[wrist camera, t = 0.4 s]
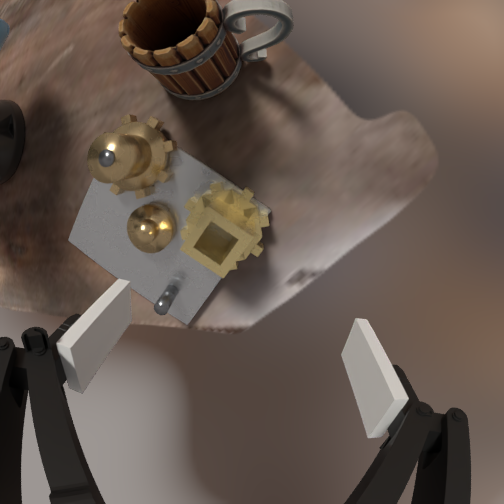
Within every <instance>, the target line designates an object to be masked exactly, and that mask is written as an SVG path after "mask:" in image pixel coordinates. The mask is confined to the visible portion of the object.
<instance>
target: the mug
mask: <svg viewBox="0 0 504 504" xmlns="http://www.w3.org/2000/svg"><path fill="white" fill-rule="evenodd" d="M260 14H261V15H269V16H272V17H275V18H276V19H278V20H279V21H278V22H277V24H276V25H275V26H274V27H273V28H271V29H270V30H268V31H266V32H264V33H262V34H259V35H257V36H255V37H252V38H250V39H248V40H245V41H244V42H242V43H241V44H240V45H239V43H238V41H237V39H236V38H235V36H234V35H233V33H236V34H241V33H243V32H245V31H246V22H245V18H243V17H245V16H249V15H260ZM123 17H124V19H122V20H121V21H120V22H119V36H120V37H121V38H122V39H121V43H122V46H123V48H124V49H125V50H127V52H128V54H129V56H130V57H131V58H132V59H133V60H135V61H136V62H137V63H138V64H139V65H140V66H141V67H142V68H143V69H145V70H147V71H149V72H150V73H151V74H152V75H153V76H154V77H155V78H156V79H157V80H158V82H159V83H160V84H161V85H162V86H163V87H164V88H165V89H166V90H167V91H168V92H169V93H171V94H173V95H174V96H176V97H178V98H182V99H186V100H204V99H209V97H212V96H216V95H218V94H220V93H222V92H223V91H225V90H226V89H227V88H228V86H229V85H231V83H233V82H234V80H235V79H236V78H237V76H238V74H239V71H240V68H241V63H242V60H243V61H247V62H257V61H262V60H265V59H266V58H267V55H266V48H268V47H271V46H273V45H276V44H278V43H280V42H282V41H283V40H284V39H286V38H287V37H288V36H289V34H290V33H291V32H292V30H293V26H294V25H293V16H292V10H291V8H290V6H289V5H288V4H286V3H285V2H284V1H282V0H233V1H231V2H229V3H228V4H227V5H225V7H224V8H223V9H222V7H221V6H220V4H219V3H218V1H217V0H137V2H131V3H129V4H128V5H127V6H126V8H125V9H124V11H123Z"/></svg>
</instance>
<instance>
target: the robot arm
mask: <svg viewBox="0 0 504 504" xmlns="http://www.w3.org/2000/svg"><path fill="white" fill-rule="evenodd" d="M8 35H9V25H8V24H7V23H6V22H5V21H4V20H2V19H0V50H1V48H2V46H3V44H4V42H5V41H6V39H7V37H8ZM24 136H25V127H24V119H23V115H22V112H21V109H20V108H19V106H18V105H17V104H16V103H15V102H13V101H11V100H0V184H1V183H4V182H6V181H7V180H8V179H9V178H10V177H11V176H12V175H13V173H14V172H15V170H16V168H17V166H18V164H19V161H20V158H21V155H22V151H23V145H24ZM131 321H132V316H131V281H127V280H123V279H118V280H117V281H116V282H115V283H114V284H113V285H112V286H111V287H110V288H109V289H108V290H107V291H106V292H105V293H104V294H103V295H102V296H101V297H100V298H99V299H98V300H97V301H96V302H95V303H94V304H93V305H92V306H91V307H90V308H89V309H88V310H87V311H86V312H85V313H84V314H83V315H79V314H75V315H73V316H71V317H69V318H68V319H67V320H66V321H65V322H64V323H63V324H62V325H61V326H60V327H59V329H57V330H56V331H55V332H54V333H53V334H52V335H51V336H50V337H49V338H48V334H47V331H46V330H44V329H43V328H40V327H32V328H29V329H27V330H25V331H24V332H23V334H22V336H21V338H22V342H23V345H24V348H18V347H15V345H14V342H13V340H12V339H10V338H8V337H1V338H0V504H22V496H21V453H22V437H23V426H24V417H25V409H26V402H27V396H28V390H29V396H30V403H31V410H32V417H33V423H34V428H35V433H36V438H37V443H38V447H39V451H40V455H41V459H42V463H43V466H44V470H45V473H46V477H47V480H48V483H49V486H50V490H51V494H50V495H49V498H50V502H51V504H105V502H104V500H103V498H102V496H101V494H100V491H99V489H98V487H97V485H96V483H95V480H94V478H93V476H92V473H91V471H90V469H89V466H88V464H87V462H86V459H85V456H84V453H83V450H82V448H81V445H80V442H79V439H78V436H77V433H76V430H75V427H74V424H73V420H72V417H71V414H70V410H69V407H68V403H67V399H66V395H65V391H64V388H63V384H64V383H65V381H66V380H67V383H68V386H69V388H70V389H72V390H75V391H77V392H80V393H83V392H84V390H85V389H86V388H87V386H88V384H89V383H90V381H91V380H92V378H93V377H94V375H95V374H96V372H97V371H98V369H99V368H100V366H101V365H102V363H103V362H104V360H105V359H106V357H107V356H108V354H109V353H110V351H111V350H112V348H113V347H114V346H115V344H116V342H117V341H118V339H119V338H120V337H121V335H122V334H123V333H124V331H125V330H126V328H127V327H128V326H129V324H130V323H131ZM341 356H342V359H343V361H344V364H345V368H346V370H347V374H348V377H349V380H350V383H351V386H352V389H353V392H354V395H355V398H356V401H357V404H358V407H359V411H360V413H361V417H362V420H363V424H364V427H365V430H366V434H367V437H368V438H376V437H382V436H383V435H384V433H385V432H386V431H387V430H388V432H389V437H388V438H387V439H386V440H385V442H384V443H383V444H382V446H381V447H380V449H381V450H380V451H379V453H378V455H377V457H376V458H375V459H374V461H373V463H372V464H371V466H370V467H369V469H368V470H367V472H366V474H365V475H364V477H363V478H362V480H361V481H360V483H359V484H358V485H357V487H356V488H355V490H354V491H353V492H352V494H351V495H350V496H349V498H348V499H347V501H346V502H345V503H344V504H397V502H398V500H399V498H400V497H401V495H402V493H403V491H404V489H405V487H406V485H407V483H408V481H409V479H410V476H411V474H412V472H413V470H414V468H415V465H416V463H417V461H418V467H417V474H416V480H415V486H414V492H413V497H412V502H411V504H470V496H471V456H470V439H469V427H468V418H467V415H466V414H465V413H464V412H463V411H462V410H461V409H458V408H450V409H449V410H448V411H447V413H446V414H440V413H434V411H433V409H432V408H431V407H430V406H429V405H428V404H426V403H424V402H420V401H419V399H418V398H417V396H416V394H415V392H414V390H413V388H412V386H411V384H410V382H409V381H408V379H407V377H406V375H405V373H404V371H403V370H402V369H401V368H400V367H399V366H398V365H392V364H391V363H390V361H389V359H388V357H387V355H386V353H385V351H384V350H383V348H382V346H381V344H380V342H379V340H378V339H377V337H376V335H375V333H374V331H373V329H372V328H371V326H370V324H369V322H368V320H367V319H358V318H356V319H355V321H354V324H353V326H352V329H351V332H350V334H349V337H348V339H347V342H346V345H345V347H344V349H343V352H342V354H341ZM418 458H419V459H418Z"/></svg>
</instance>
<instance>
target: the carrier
mask: <svg viewBox="0 0 504 504" xmlns="http://www.w3.org/2000/svg"><path fill="white" fill-rule="evenodd" d="M121 121H122V125H121V126H120V127H119V128H117V129H116V130H115V131H114V132H113V133H106V132H104V134H102V135H100V136H99V137H98V138H96V139H95V141H94V142H93V143H92V145H91V147H90V149H89V152H88V158H87V162H88V168H89V171H90V173H91V174H92V176H93V177H94V179H93V181H92V183H91V185H90V187H89V190H88V192H87V194H86V196H85V199H84V201H83V203H82V206H81V208H80V211H79V213H78V216H77V218H76V221H75V223H74V226H73V229H72V231H71V234H70V237H69V239H68V241H70V242H71V243H72V244H73V245H75V246H76V247H77V248H78V249H80V250H81V251H82V252H83V253H85V254H86V255H87V256H88V257H90V258H91V259H92V260H94V261H95V262H96V263H98V264H99V265H100V266H102V267H103V268H104V269H106V270H107V271H108V272H110V273H111V274H112V275H114V276H115V277H117V278H118V279H123V280H127V281H131V288H132V289H133V290H135V291H136V292H138V293H139V294H141V295H142V296H144V297H145V298H146V299H148V300H149V301H151V302H152V303H154V304H155V305H154V310H155V312H156V313H157V314H159V315H165V314H166V313H167V312H168V313H169V314H171V315H172V316H174V317H175V318H177V319H178V320H180V321H182V322H183V323H185V324H186V325H188V324H189V322H190V321H191V320H192V318H193V317H194V315H195V314H196V313H197V311H198V310H199V308H200V307H201V306H202V304H203V303H204V302H205V300H206V299H207V297H208V296H209V295H210V293H211V292H212V291H213V289H214V288H215V286H216V285H217V284H218V282H219V281H220V280H221V278H222V277H220V276H219V275H217V274H216V273H214V272H213V271H211V270H210V269H208V268H206V267H205V266H203V265H202V264H200V263H199V262H197V261H196V260H194V259H193V258H191V257H190V256H189V255H187V254H186V253H184V252H183V251H181V250H180V248H181V247H182V245H183V243H184V242H185V240H182V237H181V233H180V230H181V229H182V228H183V227H185V226H187V223H186V219H187V217H188V216H189V214H190V211H189V210H187V209H186V208H184V206H185V204H186V203H187V201H188V200H189V198H191V197H193V196H194V197H195V198H197V199H198V200H199V199H200V197H201V195H203V194H204V193H208V192H211V189H210V184H212V183H216V182H221V181H222V182H223V187H224V189H229V188H235V189H236V190H237V191H239V192H240V193H242V192H243V189H241V188H240V187H238V186H237V185H236V184H234V183H233V182H231V181H230V180H228V179H227V178H225V177H224V176H222V175H221V174H219V173H218V172H216V171H215V170H213V169H212V168H210V167H209V166H207V165H206V164H204V163H203V162H201V161H200V160H198V159H197V158H195V157H194V156H192V155H191V154H189V153H188V152H186V151H184V150H183V149H181V148H180V147H178V146H177V142H176V141H174V140H170V141H169V140H167V139H166V137H165V135H164V134H163V133H162V132H161V131H160V128H161V127H162V125H163V124H164V122H162V121H161V120H159V119H157V118H155V117H150V118H149V120H148V122H147V123H141V122H138V121H137V118H136V116H134V115H130V114H129V115H126V116H124V117H121ZM250 200H252V201H253V202H255V203H256V204H258V210H259V214H260V213H266V212H267V213H268V214H269V213H270V212H271V209H270V208H269V207H267V206H266V205H264V204H263V203H261V202H260V201H259V200H257V199H256V198H254V197H252V198H251V199H250ZM208 228H210V229H211V230H213V231H214V232H216V233H217V234H219V235H220V236H221V237H223V238H224V239H226V240H227V241H230V240H231V239H232V237H233V236H232V235H231V234H230V233H228V232H227V231H225V230H224V229H222V228H221V227H219V226H218V225H216V224H215V223H213V222H211V223H210V225H209V226H208Z"/></svg>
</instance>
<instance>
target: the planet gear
mask: <svg viewBox="0 0 504 504" xmlns="http://www.w3.org/2000/svg"><path fill="white" fill-rule="evenodd" d="M210 189H211V192H208V193H204V194H203V195H201V197H200V199H199V200H198V199H197V198H195V197H194V196H193V197H191V198H189V200H188V201H187V203H186V204H185V206H184V208H186V209H187V210H189V211H190V214H189V216H188V217H187V219H186V223H187V226H185V227H183V228H182V229H181V230H180V233H181V237H182V240H185V242H184V243H183V245H182V247H181V248H180V250H181V251H183V252H184V253H186V254H187V255H189V256H190V257H191V258H193V259H194V260H196V261H197V262H199V263H200V264H202V265H203V266H205V267H206V268H208V269H210V270H211V271H213V272H214V273H216V274H217V275H219V276H220V277H222V278H223V279H224V277H225V276H226V274H227V273H228V272H229V270H234V269H237V268H238V261H241V260H245V259H246V258H247V257H248V255H249V254H250V253H252V254H254V255H255V256H257V257H258V256H259V255H260V253H261V252H262V251H263V249H264V244H262V243H261V242H260V239H261V238H262V228H261V227H266V226H269V219H268V213H267V212H266V213H260V214H259V210H258V204H256V203H255V202H253V201H252V200H250V199H251V198H252V197H253V195H254V191H252V190H251V189H249V188H248V187H245V189H244V190H243V192H242V193H240V192H239V191H237V190H236V189H235V188H229V189H224V187H223V182H222V181H221V182H216V183H212V184H210ZM211 222H213V223H215V224H216V225H218V226H219V227H221V228H222V229H224V230H225V231H227V232H228V233H230V234H231V235H232V236H233V237H232V239H231V240H230V241H227V240H226V239H224V238H223V237H221V236H220V235H219V234H217V233H216V232H214V231H213V230H211V229H210V228H208V226H209V225H210V223H211Z"/></svg>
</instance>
